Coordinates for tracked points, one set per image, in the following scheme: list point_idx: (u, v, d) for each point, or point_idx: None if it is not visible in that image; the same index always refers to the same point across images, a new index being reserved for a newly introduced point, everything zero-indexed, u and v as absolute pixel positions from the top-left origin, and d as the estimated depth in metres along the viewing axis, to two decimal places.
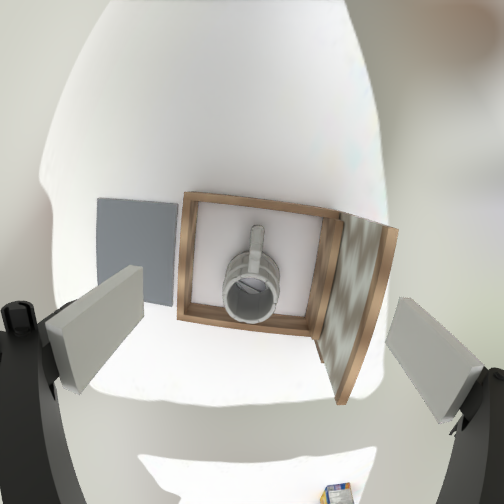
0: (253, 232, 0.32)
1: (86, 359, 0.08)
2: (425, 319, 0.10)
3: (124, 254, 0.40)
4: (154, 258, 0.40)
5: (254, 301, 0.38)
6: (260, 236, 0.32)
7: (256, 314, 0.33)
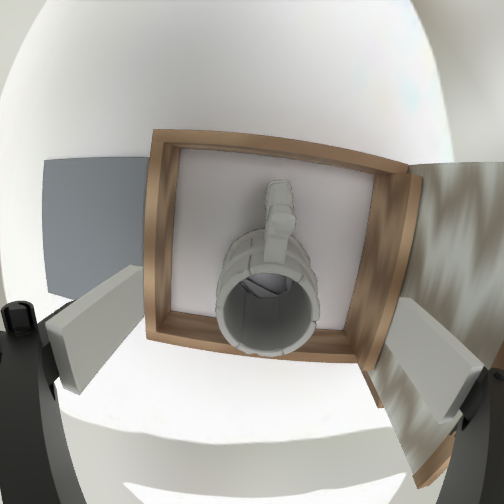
0: (273, 187, 0.17)
1: (86, 359, 0.08)
2: (425, 319, 0.10)
3: (75, 237, 0.25)
4: (114, 243, 0.25)
5: (270, 311, 0.23)
6: (287, 193, 0.16)
7: (277, 338, 0.18)
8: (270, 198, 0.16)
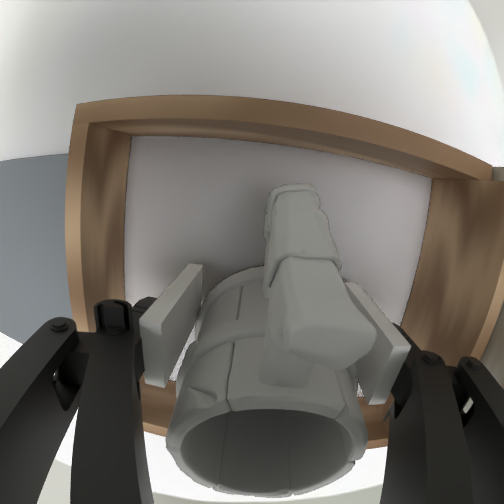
0: (283, 202, 0.07)
1: (171, 352, 0.09)
2: (361, 301, 0.12)
3: (11, 267, 0.16)
4: (51, 278, 0.16)
5: None
6: (318, 217, 0.07)
7: (282, 463, 0.09)
8: (278, 233, 0.06)
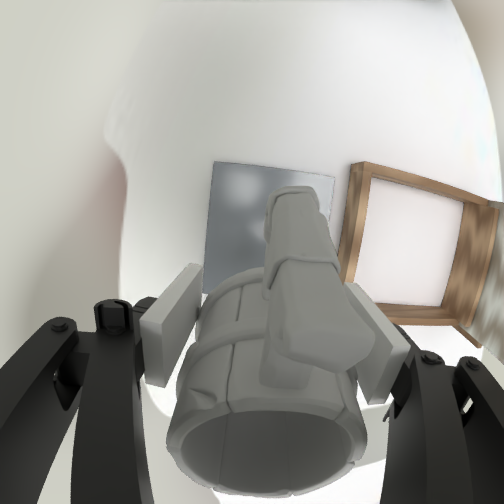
0: (283, 204, 0.07)
1: (171, 352, 0.09)
2: (361, 301, 0.12)
3: (254, 239, 0.32)
4: None
5: None
6: (318, 220, 0.07)
7: (282, 464, 0.09)
8: (278, 236, 0.06)
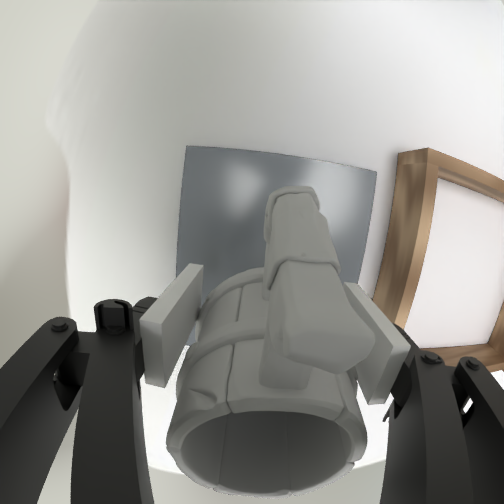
0: (283, 205, 0.07)
1: (171, 352, 0.09)
2: (361, 301, 0.12)
3: None
4: None
5: None
6: (318, 220, 0.07)
7: (282, 464, 0.09)
8: (278, 236, 0.06)
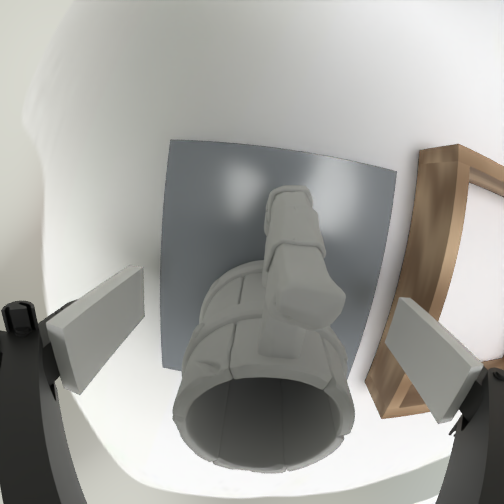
0: (280, 201, 0.09)
1: (87, 359, 0.08)
2: (425, 319, 0.10)
3: None
4: None
5: (269, 383, 0.14)
6: (309, 214, 0.08)
7: (278, 441, 0.10)
8: (275, 225, 0.07)
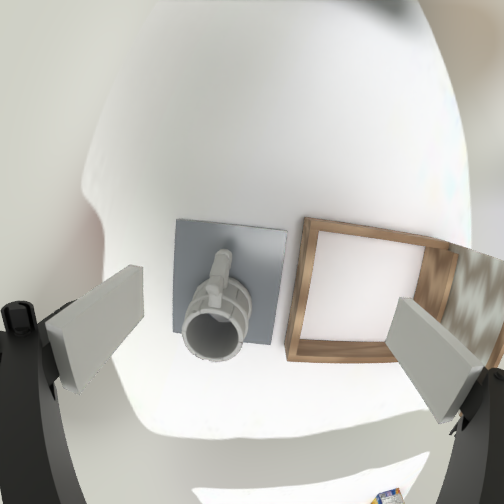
0: (215, 259, 0.28)
1: (86, 359, 0.08)
2: (425, 319, 0.10)
3: None
4: (255, 293, 0.36)
5: (223, 332, 0.33)
6: (222, 264, 0.27)
7: (221, 350, 0.29)
8: (211, 269, 0.26)
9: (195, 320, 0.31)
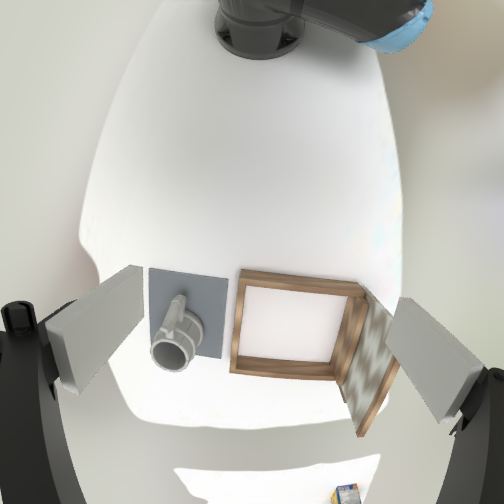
0: (170, 306, 0.39)
1: (86, 359, 0.08)
2: (425, 319, 0.10)
3: None
4: (206, 322, 0.48)
5: None
6: (174, 311, 0.38)
7: (178, 364, 0.41)
8: (166, 314, 0.38)
9: (162, 342, 0.43)
